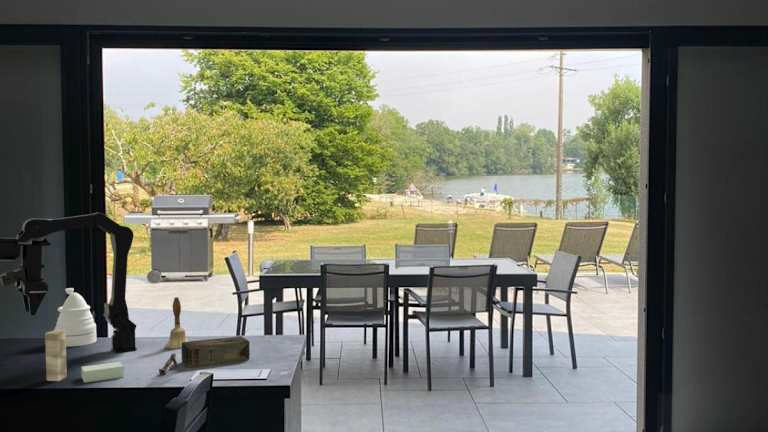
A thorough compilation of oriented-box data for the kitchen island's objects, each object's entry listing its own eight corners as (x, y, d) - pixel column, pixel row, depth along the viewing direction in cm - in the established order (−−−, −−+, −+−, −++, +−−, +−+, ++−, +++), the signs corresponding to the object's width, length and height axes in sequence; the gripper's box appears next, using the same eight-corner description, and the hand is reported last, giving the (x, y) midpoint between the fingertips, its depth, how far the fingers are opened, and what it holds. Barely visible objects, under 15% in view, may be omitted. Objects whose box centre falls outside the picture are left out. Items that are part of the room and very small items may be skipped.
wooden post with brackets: (180, 363, 202) (177, 351, 200) (167, 382, 195) (164, 369, 193) (175, 363, 203) (171, 351, 201) (162, 381, 196) (158, 368, 194)
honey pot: (46, 345, 230) (44, 291, 229) (73, 336, 242) (71, 285, 241) (79, 347, 226) (77, 292, 225) (104, 338, 239) (103, 286, 238)
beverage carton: (251, 360, 210) (250, 338, 209) (186, 369, 201) (186, 346, 200) (242, 354, 217) (242, 333, 216) (180, 362, 207) (179, 341, 207)
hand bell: (161, 349, 223) (160, 299, 223) (169, 343, 232) (168, 295, 231) (187, 349, 224) (186, 299, 223) (194, 342, 232) (193, 295, 231)
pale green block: (120, 372, 197) (119, 361, 196) (123, 377, 192) (123, 366, 192) (81, 377, 191) (81, 366, 191) (84, 382, 187) (84, 371, 187)
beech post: (55, 376, 192) (53, 330, 192) (66, 377, 192) (65, 330, 191) (46, 380, 189) (45, 333, 188) (58, 381, 188) (57, 333, 188)
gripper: (-3, 259, 210) (-5, 310, 210) (6, 262, 195) (3, 318, 195) (38, 259, 217) (35, 309, 216) (49, 262, 201) (47, 316, 201)
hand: (30, 313), depth 207 cm, fingers open, 9 cm apart
